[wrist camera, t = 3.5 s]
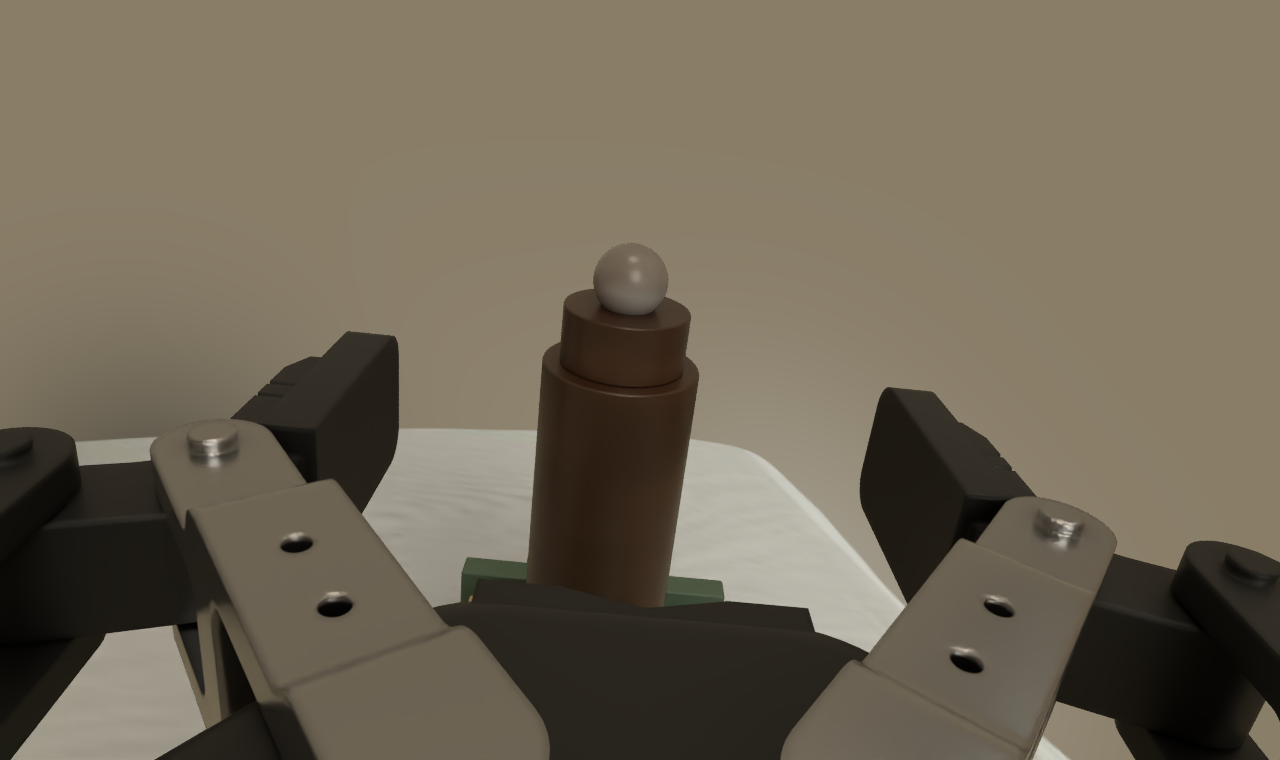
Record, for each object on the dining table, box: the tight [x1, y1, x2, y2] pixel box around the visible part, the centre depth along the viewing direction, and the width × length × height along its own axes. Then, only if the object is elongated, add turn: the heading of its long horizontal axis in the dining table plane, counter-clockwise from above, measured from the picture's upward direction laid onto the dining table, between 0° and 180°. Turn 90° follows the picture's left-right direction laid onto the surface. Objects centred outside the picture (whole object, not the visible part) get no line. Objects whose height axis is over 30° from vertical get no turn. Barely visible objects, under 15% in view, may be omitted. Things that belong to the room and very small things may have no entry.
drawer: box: [461, 557, 724, 607], centre depth 33 cm, size 18×11×7 cm, turn 0°
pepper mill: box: [526, 243, 699, 608], centre depth 28 cm, size 5×5×22 cm
